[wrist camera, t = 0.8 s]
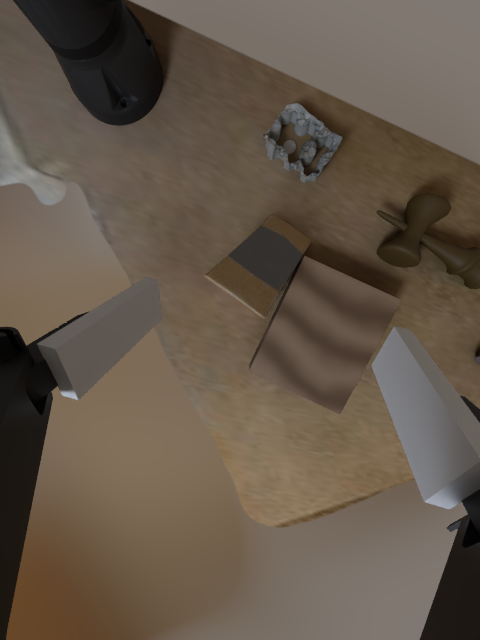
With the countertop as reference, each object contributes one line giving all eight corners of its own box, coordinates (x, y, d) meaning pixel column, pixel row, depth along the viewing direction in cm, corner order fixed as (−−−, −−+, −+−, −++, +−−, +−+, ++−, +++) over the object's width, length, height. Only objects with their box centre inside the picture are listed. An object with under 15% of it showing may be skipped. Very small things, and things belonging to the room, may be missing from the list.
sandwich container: (313, 241, 38) (351, 200, 23) (261, 314, 40) (265, 320, 25) (272, 212, 38) (284, 153, 23) (222, 286, 40) (202, 275, 25)
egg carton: (258, 152, 38) (259, 134, 34) (287, 114, 37) (291, 91, 33) (308, 192, 38) (314, 178, 34) (337, 154, 37) (347, 135, 33)
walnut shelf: (299, 261, 38) (304, 255, 34) (385, 300, 38) (401, 300, 34) (249, 363, 40) (249, 370, 36) (331, 402, 40) (340, 414, 36)
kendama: (452, 303, 38) (351, 244, 38) (485, 253, 37) (382, 192, 37) (491, 303, 32) (370, 232, 32) (531, 243, 31) (408, 171, 31)
